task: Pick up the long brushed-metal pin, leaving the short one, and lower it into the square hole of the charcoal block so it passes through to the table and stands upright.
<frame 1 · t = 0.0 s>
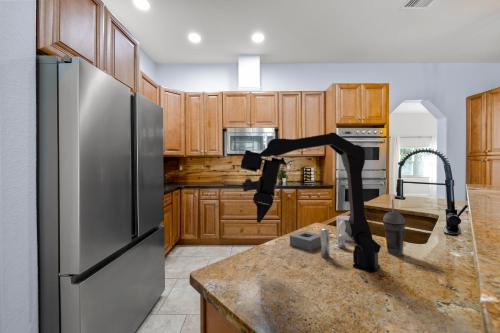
hand: (259, 219, 79), 15 cm above the countertop, tool pointing down, fingers open, 9 cm apart
short pin: (341, 247, 93), on the countertop
long pin: (325, 256, 84), on the countertop
beverage cup: (394, 253, 85), on the countertop
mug: (345, 239, 104), on the countertop
hole block: (306, 244, 97), on the countertop
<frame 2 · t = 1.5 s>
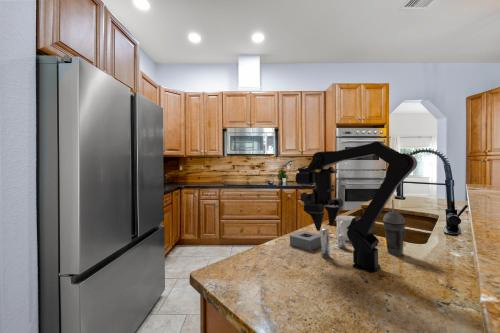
hand: (324, 228, 84), 10 cm above the countertop, tool pointing down, fingers open, 9 cm apart
nothing on the countertop moved.
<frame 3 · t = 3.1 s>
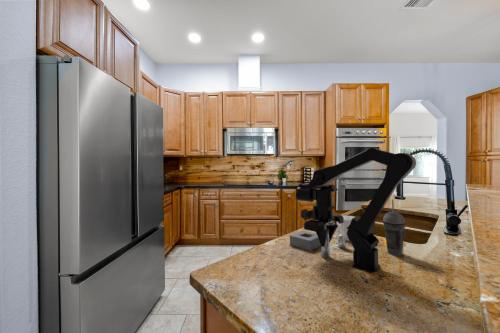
hand: (325, 245, 84), 4 cm above the countertop, tool pointing down, fingers closed on long pin, 3 cm apart
long pin: (325, 256, 84), on the countertop, touching gripper
everything else where it was.
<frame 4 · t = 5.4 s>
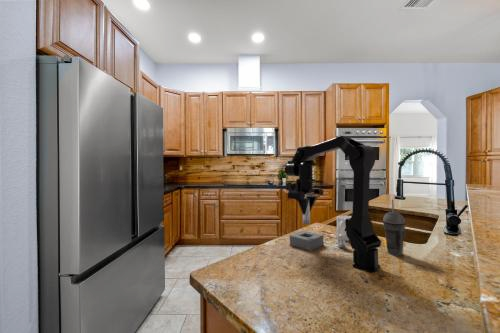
hand: (306, 213, 96), 13 cm above the countertop, tool pointing down, fingers closed on long pin, 3 cm apart
long pin: (306, 223, 96), point 9 cm above the countertop, touching gripper
everything else where it was.
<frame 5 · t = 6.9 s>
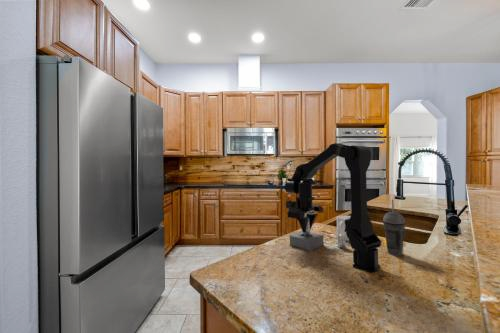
hand: (306, 231, 97), 6 cm above the countertop, tool pointing down, fingers closed on long pin, 3 cm apart
long pin: (306, 241, 97), point 2 cm above the countertop, touching gripper
everything else where it was.
when the fingers open (5 cm above the countertop, at t = 7.8 s): long pin drops 1 cm, resting in hole block.
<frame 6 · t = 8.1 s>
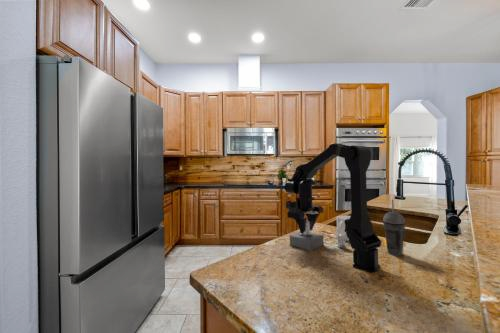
hand: (306, 231, 97), 5 cm above the countertop, tool pointing down, fingers open, 6 cm apart
long pin: (306, 244, 97), resting in hole block
everything else where it was.
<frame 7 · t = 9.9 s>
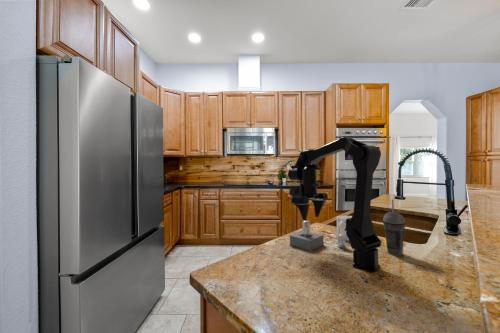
hand: (310, 218, 95), 12 cm above the countertop, tool pointing down, fingers open, 9 cm apart
nothing on the countertop moved.
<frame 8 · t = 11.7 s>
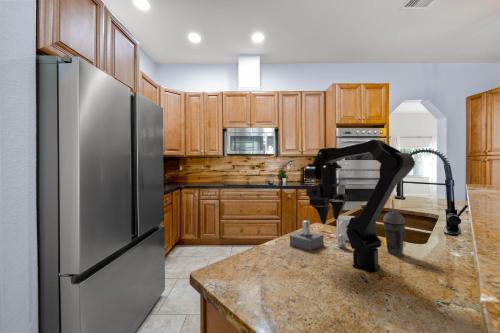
hand: (329, 221, 87), 12 cm above the countertop, tool pointing down, fingers open, 9 cm apart
nothing on the countertop moved.
at the end: long pin 0.0 cm off-centre on the hole block, point 0.0 cm above the hole block's base; long pin tilted 0°; long pin touching countertop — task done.
